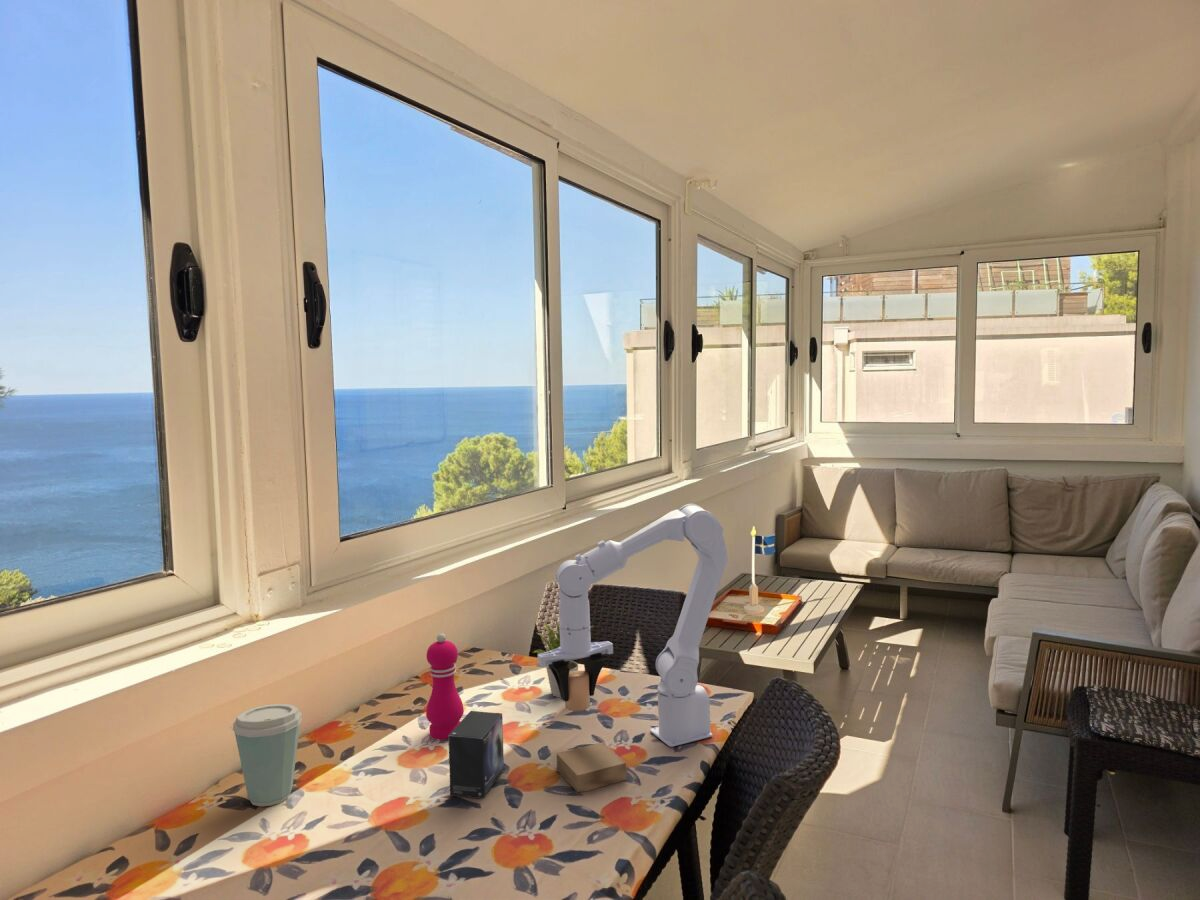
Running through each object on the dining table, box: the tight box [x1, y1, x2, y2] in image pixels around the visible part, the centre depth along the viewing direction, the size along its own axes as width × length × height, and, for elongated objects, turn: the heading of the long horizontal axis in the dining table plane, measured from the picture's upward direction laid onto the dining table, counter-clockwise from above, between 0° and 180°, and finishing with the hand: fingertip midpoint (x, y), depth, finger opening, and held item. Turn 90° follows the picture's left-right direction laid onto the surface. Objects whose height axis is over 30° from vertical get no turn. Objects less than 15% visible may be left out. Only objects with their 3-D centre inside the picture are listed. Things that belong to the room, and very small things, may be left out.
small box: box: [448, 710, 505, 799], centre depth 134 cm, size 11×6×10 cm, turn 168°
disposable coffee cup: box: [232, 703, 303, 807], centre depth 131 cm, size 11×11×15 cm
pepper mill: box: [425, 633, 465, 741], centre depth 154 cm, size 7×7×20 cm
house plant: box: [533, 620, 594, 698], centre depth 171 cm, size 14×14×16 cm
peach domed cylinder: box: [564, 670, 591, 712], centre depth 148 cm, size 5×5×6 cm
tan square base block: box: [556, 742, 627, 794], centre depth 136 cm, size 9×9×3 cm
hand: (577, 696), depth 148 cm, fingers closed on peach domed cylinder, 5 cm apart
